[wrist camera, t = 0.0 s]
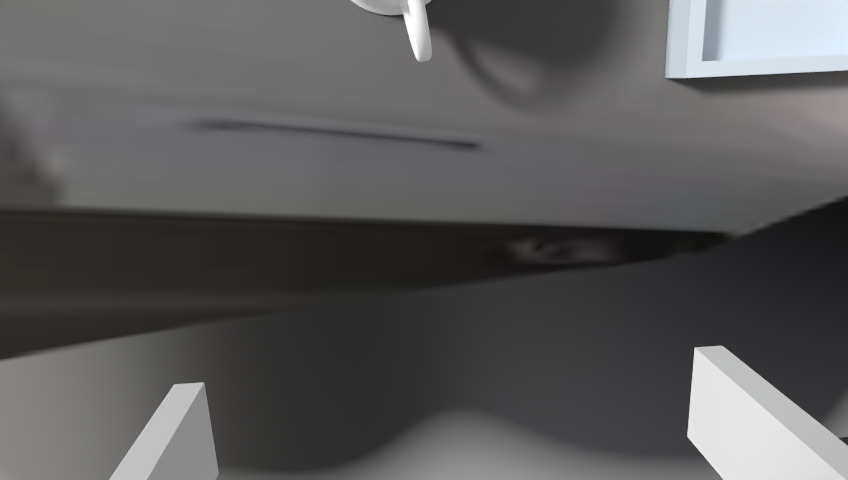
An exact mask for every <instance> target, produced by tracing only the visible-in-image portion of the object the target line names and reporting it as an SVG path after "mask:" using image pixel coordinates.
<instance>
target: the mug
mask: <svg viewBox="0 0 848 480" xmlns="http://www.w3.org/2000/svg"><path fill="white" fill-rule="evenodd" d="M351 1H352V2H354V3H355V4H357V5H358V6H360V7H362V8H364V9H366V10H368V11H371V12H374V13H378V14H383V15H400V14H403V15H404V19H405V23H406V26H407V30H408V34H409V38H410V41H411V45H412V48H413V51H414V54H415V57H416V59H417V60H418V61H420V62H424V61H427V60H429V59H430V58H431V55H432V49H431V39H430V32H429V26H428V20H427V14H426V9H425V5H426V4H427V3H429V2H430V1H431V0H351Z"/></svg>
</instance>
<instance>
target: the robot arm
mask: <svg viewBox="0 0 848 480" xmlns="http://www.w3.org/2000/svg"><path fill="white" fill-rule="evenodd" d="M687 437H688V438H689V439H690V440H691V441H692V443H693V444H694V445H695V446H696V447H697V448H698V450H699V451H700V452H701V453H702V454H703V456H704V457H705V458H706V459H707V460H708V461H709V463H710V464H711V465H712V466H713V468H714V469H715V470H716V471H717V472H718V473H719V475H721V477H722V478H723V479H724V480H848V437H844V438H837V437H836V436H835V435H834V434H832V433H831V432H830V431H828V430H827V429H826V428H825V427H824V426H822V425H821V424H820V423H819V422H817V421H816V420H815V419H813V418H812V417H811V416H810V415H808V414H807V413H806V412H805V411H803V410H802V409H801V408H800V407H798V406H797V405H796V404H795V403H793V402H792V401H791V400H789V399H788V398H787V397H786V396H785V395H783V394H782V393H781V392H780V391H778V390H777V389H776V388H774V387H773V386H772V385H771V384H770V383H768V382H767V381H766V380H765V379H763V378H762V377H761V376H760V375H758V374H757V373H756V372H754V371H753V370H752V369H751V368H749V367H748V366H747V365H746V364H744V363H743V362H742V361H741V360H739V359H738V358H737V357H736V356H734V355H733V354H732V353H731V352H729V351H728V350H727V349H725V348H724V347H723V346H711V347H698V348H695V351H694V364H693V375H692V387H691V399H690V412H689V423H688V435H687ZM217 476H218V467H217V461H216V454H215V448H214V442H213V435H212V429H211V423H210V416H209V410H208V404H207V398H206V391H205V385H204V383H190V384H175V385H174V386H173V387H172V389H171V390H170V391H169V393H168V394H167V396H166V397H165V399H164V400H163V402H162V403H161V405H160V406H159V408H158V409H157V411H156V412H155V414H154V415H153V416H152V418H151V419H150V421H149V422H148V424H147V425H146V427H145V428H144V430H143V431H142V433H141V434H140V435H139V437H138V438H137V440H136V441H135V443H134V444H133V446H132V447H131V449H130V450H129V452H128V453H127V454H126V456H125V457H124V459H123V460H122V462H121V463H120V465H119V466H118V468H117V469H116V471H115V472H114V473H113V475H112V476H111V478H110V479H109V480H216V478H217Z"/></svg>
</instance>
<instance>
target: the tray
mask: <svg viewBox="0 0 848 480" xmlns="http://www.w3.org/2000/svg"><path fill="white" fill-rule="evenodd" d="M842 70H848V0H669V17H668V34H667V50H666V67H665V78H697V77H718V76H738V75H759V74H780V73H801V72H821V71H842Z"/></svg>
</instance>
